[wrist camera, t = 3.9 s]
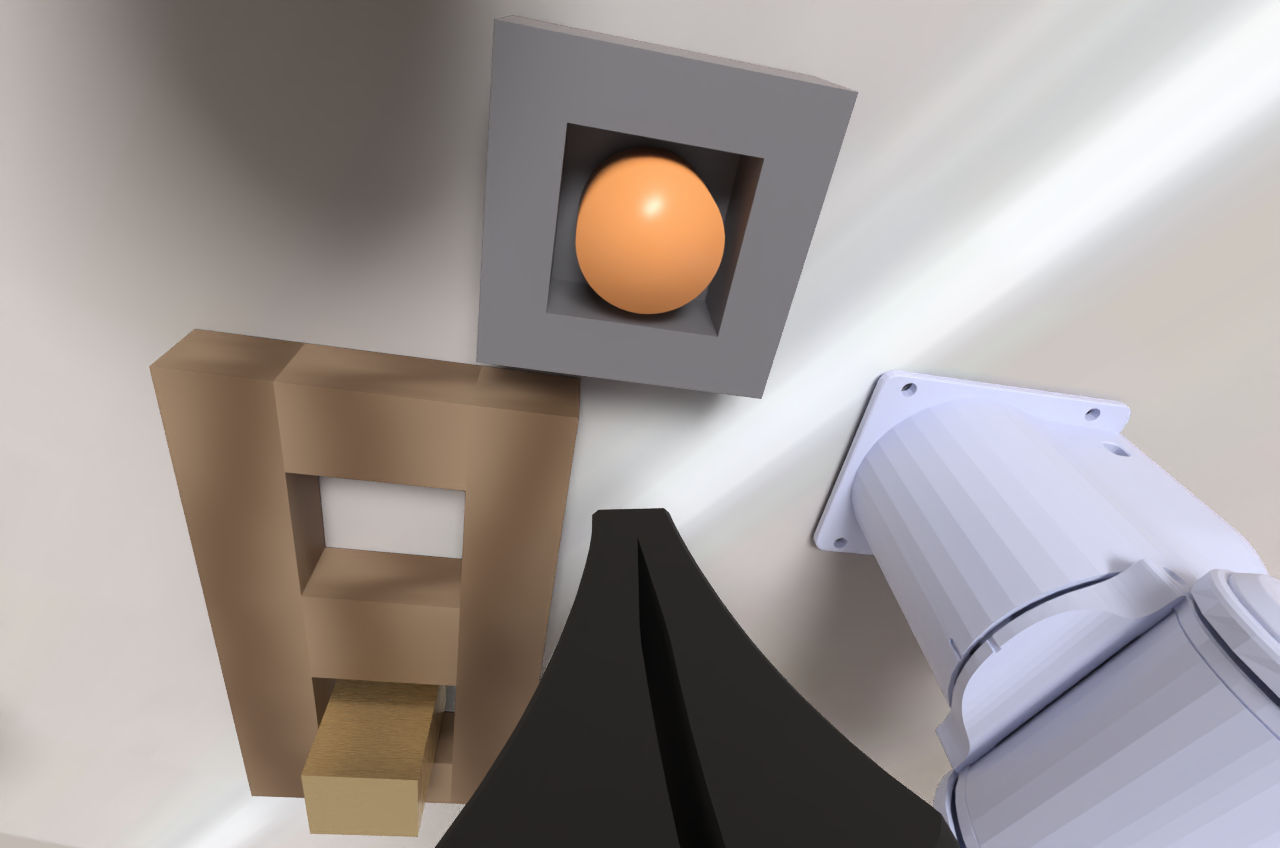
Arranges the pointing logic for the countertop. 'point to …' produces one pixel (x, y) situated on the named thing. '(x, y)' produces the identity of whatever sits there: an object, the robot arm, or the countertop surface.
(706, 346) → the button housing
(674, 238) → the button
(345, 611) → the wooden socket board
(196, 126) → the countertop surface
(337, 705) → the block
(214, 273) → the countertop surface
